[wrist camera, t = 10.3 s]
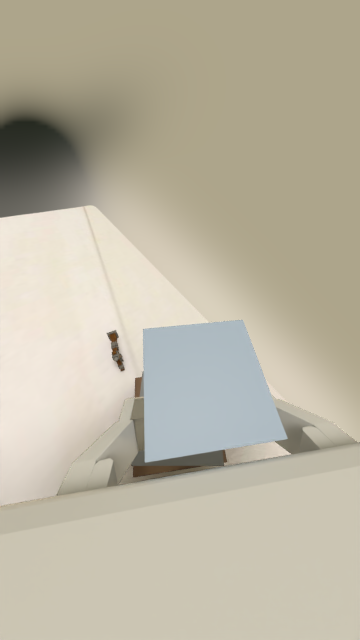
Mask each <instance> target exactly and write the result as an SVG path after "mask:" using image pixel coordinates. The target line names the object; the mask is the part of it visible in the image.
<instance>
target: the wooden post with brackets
mask: <svg viewBox="0 0 360 640" xmlns="http://www.w3.org/2000/svg"><path fill="white" fill-rule="evenodd" d="M107 335H108V337H109V339H110V341H112V343H111V345H112V346H111V348H112V350H113V352H112V358H113V360H114V361H116V362H117V364H118V367H119V369H120V370H121V371H123V370H124V367H123V364H122V361H123V359H122V356H121V354H119V353H118V344H117V338H119V337H118V334H117V332H116V330H115V331H112V332H109V333H107Z"/></svg>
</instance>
